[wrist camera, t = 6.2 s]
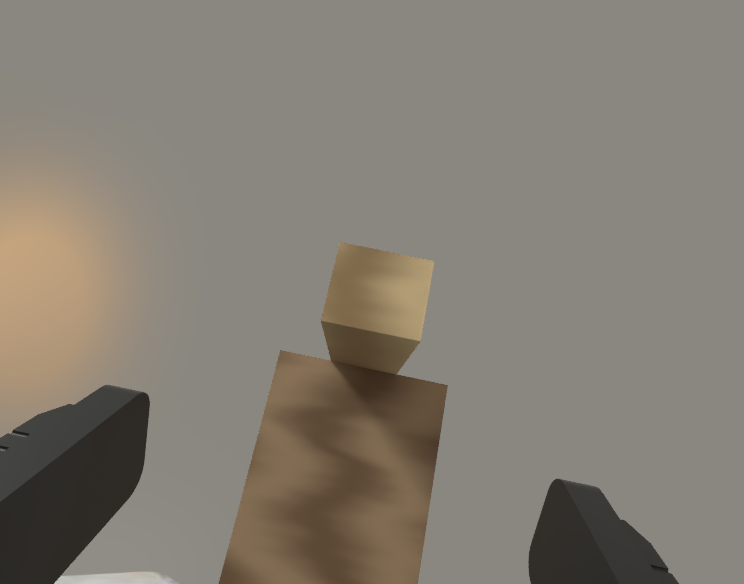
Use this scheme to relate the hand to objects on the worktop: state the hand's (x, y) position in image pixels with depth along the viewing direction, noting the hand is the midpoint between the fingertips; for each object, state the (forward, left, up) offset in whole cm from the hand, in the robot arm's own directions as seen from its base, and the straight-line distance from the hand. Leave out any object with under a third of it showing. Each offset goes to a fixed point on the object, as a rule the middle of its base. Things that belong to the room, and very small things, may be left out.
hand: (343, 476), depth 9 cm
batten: (0, +17, +4) cm, 17 cm away
